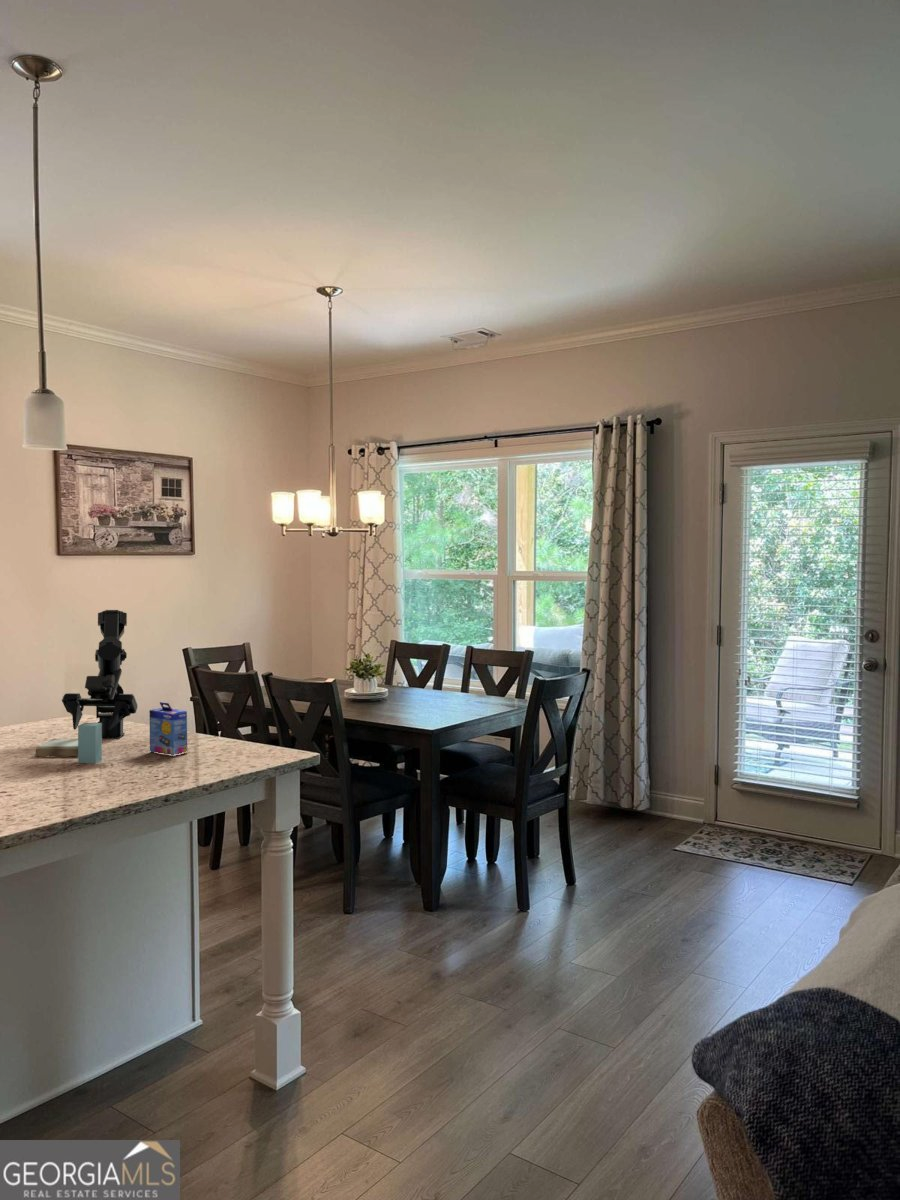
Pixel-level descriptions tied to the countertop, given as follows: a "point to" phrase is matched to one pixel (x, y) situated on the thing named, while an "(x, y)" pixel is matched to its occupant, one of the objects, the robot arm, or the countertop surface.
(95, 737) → the block
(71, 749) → the stand
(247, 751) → the countertop surface
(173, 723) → the ink cartridge box
